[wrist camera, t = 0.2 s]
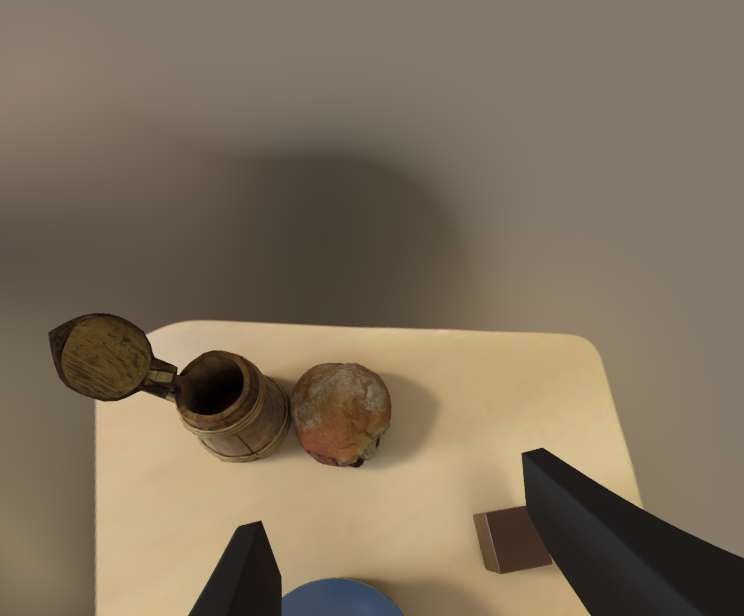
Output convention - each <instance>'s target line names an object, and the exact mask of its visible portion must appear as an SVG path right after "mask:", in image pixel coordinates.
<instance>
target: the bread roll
mask: <svg viewBox="0 0 744 616" xmlns="http://www.w3.org/2000/svg"><path fill="white" fill-rule="evenodd" d="M290 411H291V417H292V421H293V424H294V428H295V431H296V435H297V437H298V438H299V440H300V443H301V444H302V446H303V447H304V449H305V451H306V452H307V453H308V454H310V455H311V456H313V458H314V459H315V460H316V461H318V462H320V463H322V464H326V465H332V466H337V467H338V466H339V467H347V466H352V467H360V466H361V465H362V464H363V462H364V459H365V460H369V459H370V458H373V457H375V456H376V454H377V452H378V450H377V447H378V445H379V438H380V436H381V435H383V434H384V433H385V431H386V430H387V429H388V427H390V419H391V401H390V395H389V393H388V390H387V388H386V386H385V384H384V382H383V381H382V380H381V378H380V377H379V376H378V375H377V374H376V373H374V372H372V371H370V370H369V369H367V368H366V367H364V366H361V365H359V364H357V363H353V364H349V363H346V364H342V363H327V364H320V365H316V366H315V367H313V368H311V369H310V370H308V371H307V372H306V373H305V374H304V375H303V376H302V377H301V378H300V380H299V381H298V383H297V384H296V386H295V388H294V390H293V393H292V395H291V398H290Z"/></svg>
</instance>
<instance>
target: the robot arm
mask: <svg viewBox="0 0 744 616" xmlns="http://www.w3.org/2000/svg"><path fill="white" fill-rule="evenodd" d="M522 463H523V475H524V486H525V498H526V509H527V513H528V515H529V517H530V519H531V521H532V522H533V524H534V526H535V528H536V530H537V532H538V534H539V536H540V538H541V540H542V542H543V543H544V545H545V547H546V549H547V550H548V552H549V553H550V555H551V557H552V558H553V560H554V561H555V563H556V564H557V566H558V567H559V569H560V570H561V572H562V573H563V575H564V576H565V578H566V579H567V581H568V582H569V584H570V585H571V587H572V588H573V590H574V591H575V593H576V594H577V596H578V597H579V599H580V600H581V602H582V603H583V605H584V606H585V608H586V609H587V611H588V612H589V613H590V615H591V616H744V558H742V557H739V556H737V555H735V554H732V553H730V552H728V551H725V550H723V549H721V548H719V547H716V546H714V545H712V544H710V543H708V542H706V541H704V540H701V539H699V538H697V537H695V536H693V535H691V534H689V533H686V532H685V531H682V530H680V529H679V528H677V527H675V526H673V525H670V524H669V523H667V522H665V521H663V520H661V519H659V518H657V517H656V516H654V515H652V514H650V513H648V512H646V511H645V510H643V509H641V508H639V507H637V506H635V505H634V504H632V503H630V502H628V501H627V500H625V499H623V498H622V497H620V496H618V495H617V494H615V493H613V492H612V491H610V490H608V489H607V488H605V487H603V486H602V485H600V484H598V483H597V482H595V481H594V480H592V479H590V478H589V477H587V476H586V475H584V474H583V473H581V472H580V471H578V470H576V469H575V468H573V467H572V466H570V465H569V464H567V463H566V462H564V461H563V460H561V459H559V458H558V457H556V456H555V455H553V454H552V453H550V452H549V451H547V450H545V449H544V448H540V449H536V450H532V451H528V452H524V453H522ZM188 616H282V584H281V574H280V572H279V569H278V566H277V563H276V560H275V558H274V555H273V552H272V549H271V546H270V544H269V541H268V538H267V535H266V532H265V530H264V527H263V524H262V521H257V522H254V523H250V524H246V525H242V526H238V528H237V529H236V531H235V532H234V534H233V536H232V538H231V540H230V542H229V543H228V545H227V547H226V549H225V551H224V553H223V555H222V557H221V559H220V560H219V562H218V564H217V566H216V568H215V570H214V571H213V573H212V575H211V577H210V579H209V580H208V582H207V584H206V586H205V587H204V589H203V591H202V593H201V594H200V596H199V598H198V600H197V601H196V603H195V605H194V607H193V608H192V610H191V612H190V613H189V615H188Z"/></svg>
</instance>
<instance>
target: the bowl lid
mask: <svg viewBox="0 0 744 616" xmlns="http://www.w3.org/2000/svg"><path fill="white" fill-rule="evenodd" d="M282 616H405V615H404V614H403V613H402V612H401V610H400V609H399V608H398V607H397V606H396V605H395V604H394V603H393V602H392V601H391V600H390V599H389V598H388V597H387V596H385V595H384V594H383V593H381V592H380V591H379V590H377V589H375V588H373V587H371V586H370V585H368V584H365V583H362V582H360V581H357V580H352V579H347V578H325V579H319V580H315V581H312V582H309V583H306V584H304V585H302V586H299V587H297V588H296V589H294V590H292V591H291V592H289V593H287V594H286V595H285V596H284V597H282Z"/></svg>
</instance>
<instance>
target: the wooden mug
mask: <svg viewBox="0 0 744 616" xmlns="http://www.w3.org/2000/svg"><path fill="white" fill-rule="evenodd" d="M48 335H49V341H50V347H51V352H52V356H53V360H54V364H55V367H56V370H57V372H58V375H59V377H60V379H61V380H62V381H63V383H64V384H65V385H66V386H67V387H69V388H70V389H72V390H74V391H76V392H77V393H79V394H81V395H84V396H87V397H91V398H93V399H97V400H101V401H104V402H105V401H118V400H121V399H124V398H127V397H129V396H131V395H133V394H135V393H137V392H139V391H144V392H147V393H149V394H152V395H154V396H157V397H160V398H163V399H165V400H168V401H171V402H174V403H175V404H176V409H177V412H178V415H179V417H180V420H181V421H182V423H183V425H184V426H185V428H186V429H188V430H189V431H191V432H192V433H193V434H194V435H196V436H198V439H199V440H200V442H201V443H202V445H203V447H204V448H205V449H206V450H207V451H208V452H210V453H211V454H213V455H214V456H216V457H217V458H219V459H220V460H222V461H225V462H248V461H253V460H257V459H261V458H265V457H267V456H268V455H269V454H271V453H272V452H274V451H275V450H276V449H277V448H278V447H279V446H280V444H281V443H282V441H283V440H284V439H285V437H286V434H287V432H288V430H289V428H290V424H291V419H292V417H291V411H290V399H289V396H288V394H287V392H286V391H285V390H284V388H283V387H282V386H281V385H280V384H279V383H277V382H276V381H275V380H273V379H272V378H270V377H268V376H266V375H263V374H262V373H261V372H260V371H259V369H258V368H257V367H256V366H255V365H254V364H253V363H251V362H250V361H248V360H247V359H245V358H244V357H243V356H240V355H237V354H233V353H230V352H226V351H215V350H213V351H210V352H206V353H203V354H202V355H200V356H199V357H197V358H196V359H194V360H193V361H192V362H190V363H189V364H188V365H187V366H186V367H185V368H184V369H183V371H182V372H181V373H180V374H179V375H177V369H178V368H177V367H176V366H174V365H172V364H169V363H167V362H164V361H162V360H159V359H157V358H155V357H154V355H153V352H152V348H151V344H150V342H149V340H148V339H147V337H146V335H145V333H144V332H143V331H142V330H141V329H139V328H138V327H137V326H136V325H134V324H132V323H131V322H129V321H127V320H125V319H123V318H121V317H118V316H115V315H111V314H104V313H94V314H88V315H83V316H80V317H77V318H75V319H72V320H70V321H68V322H66V323H64V324H62V325H60V326H58V327H57V328H55V329H53V330H52V331H50V332H49V333H48Z"/></svg>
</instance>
